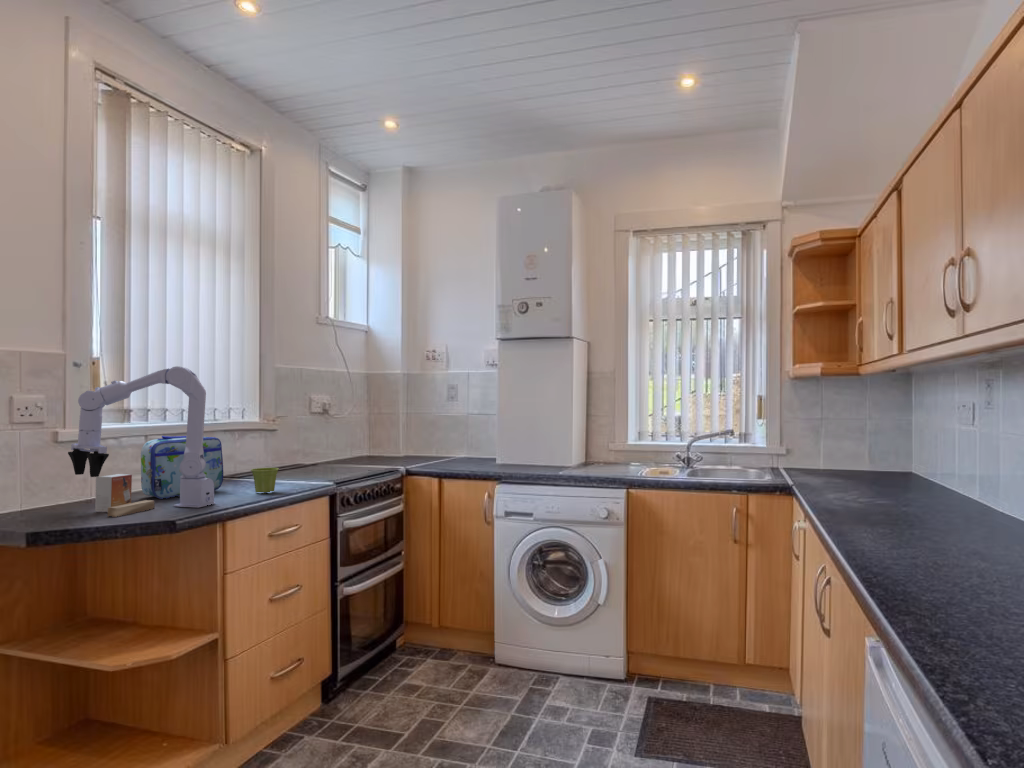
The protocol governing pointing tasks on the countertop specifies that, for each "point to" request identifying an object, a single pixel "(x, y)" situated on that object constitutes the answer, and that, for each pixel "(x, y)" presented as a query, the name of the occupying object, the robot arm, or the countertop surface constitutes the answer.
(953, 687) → the countertop surface
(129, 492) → the small box
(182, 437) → the lunch box
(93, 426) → the robot arm
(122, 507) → the batten
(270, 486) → the plant pot
